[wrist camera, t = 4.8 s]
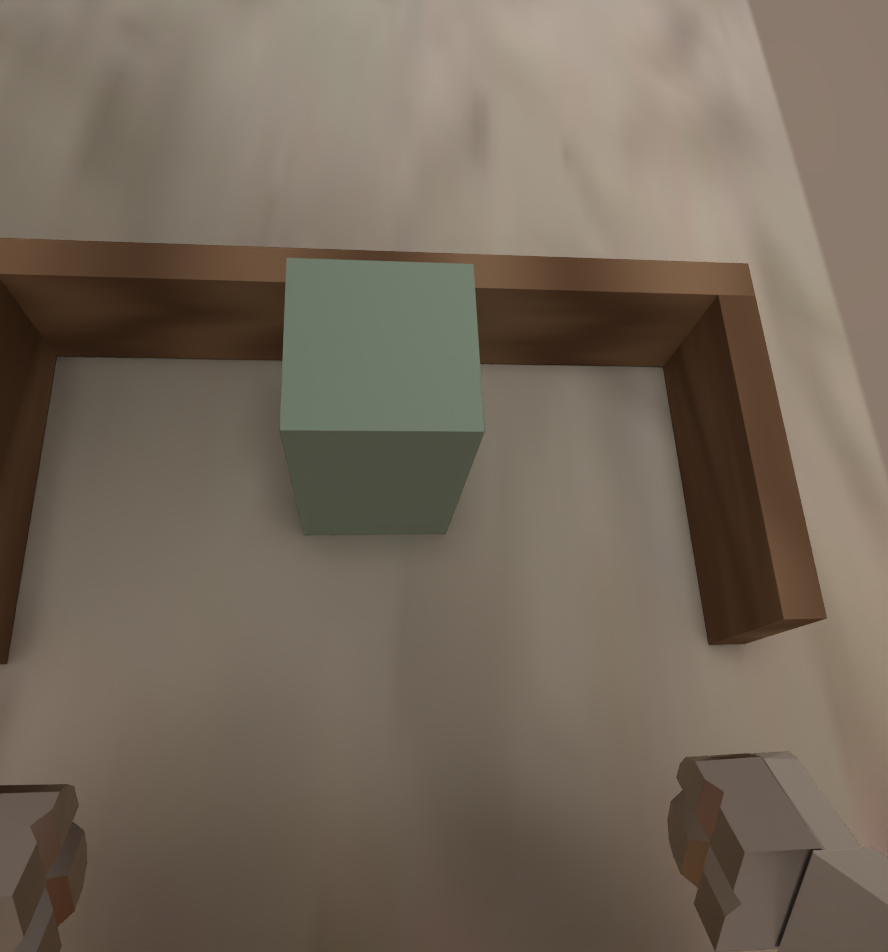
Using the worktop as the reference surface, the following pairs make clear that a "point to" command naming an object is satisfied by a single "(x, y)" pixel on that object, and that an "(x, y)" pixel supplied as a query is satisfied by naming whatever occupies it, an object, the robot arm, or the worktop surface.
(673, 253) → the worktop surface
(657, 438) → the worktop surface
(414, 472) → the sage green block
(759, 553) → the wooden u-shaped stand
